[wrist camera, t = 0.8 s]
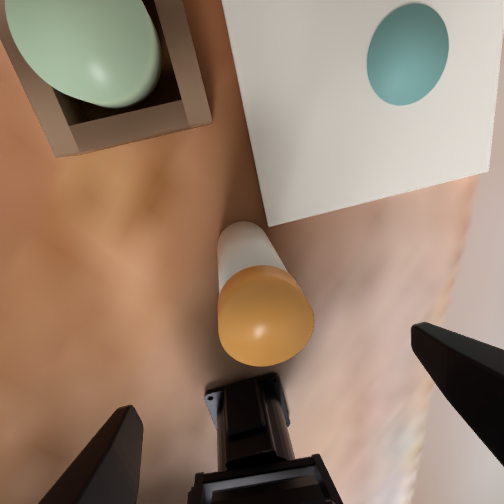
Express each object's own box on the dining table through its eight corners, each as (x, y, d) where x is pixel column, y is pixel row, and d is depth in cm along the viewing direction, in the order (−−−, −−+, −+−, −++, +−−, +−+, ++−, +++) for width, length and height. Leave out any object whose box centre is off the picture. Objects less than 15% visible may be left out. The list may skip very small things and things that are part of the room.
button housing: (212, 123, 17) (212, 120, 14) (77, 155, 16) (55, 157, 14) (167, -55, 14) (158, -95, 11) (1, -20, 13) (-43, -54, 11)
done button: (176, 96, 14) (167, 86, 12) (79, 119, 14) (47, 113, 11) (140, -28, 13) (119, -77, 10) (27, -4, 12) (-26, -47, 10)
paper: (484, 170, 20) (490, 171, 20) (267, 225, 19) (269, 227, 19) (511, -100, 15) (519, -107, 14) (213, -37, 14) (213, -42, 14)
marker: (274, 263, 20) (319, 352, 12) (223, 276, 20) (231, 376, 12) (263, 213, 19) (307, 273, 10) (209, 227, 19) (206, 299, 10)
